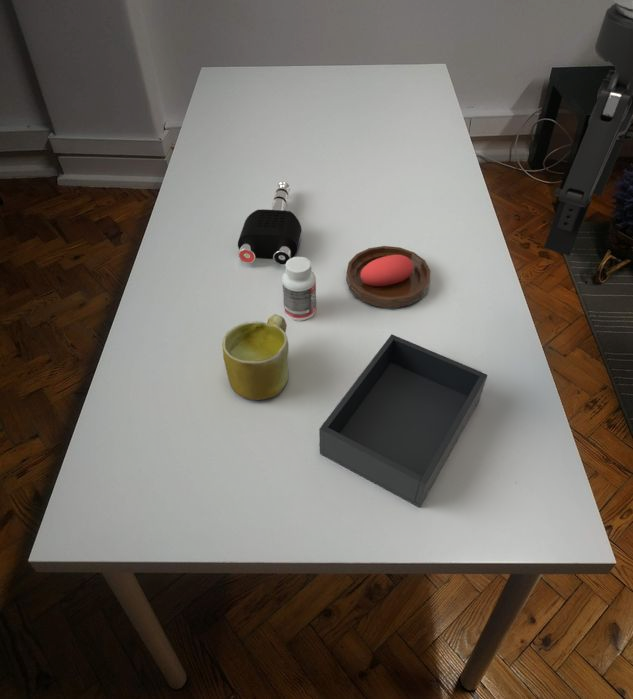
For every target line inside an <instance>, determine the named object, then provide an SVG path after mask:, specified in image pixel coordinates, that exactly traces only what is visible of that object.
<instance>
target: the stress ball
mask: <svg viewBox="0 0 633 699" xmlns="http://www.w3.org/2000/svg"><path fill="white" fill-rule="evenodd" d="M412 272H413V263H412V261H411V260H410V259H409V258H408V257H406V256H403V255H390V256H385V257H381V258H378V259H376V260H373V261H371V262H370V263H368V264H367V265H366V266H365V267H364V268H363V269H362V271H361V280H362V281H363V282H364V283H365V284H367V285H370V286H386V285H391V284H395V283H398V282H401V281H403V280H405V279H407V278H408V277H409V276H410V275H411V274H412Z"/></svg>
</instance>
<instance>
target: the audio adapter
mask: <svg viewBox="0 0 633 699" xmlns="http://www.w3.org/2000/svg"><path fill="white" fill-rule="evenodd" d="M290 191H291V186H290V184H289V183H288V182H286V181H280V182H279V183H278V184H277V187H276V189H275V192H274V196H273V199H272V203H271V205H270V209H256V210H254V211H253V212H251V213H250V214H249V215H248V216H247V217H246V219H245V220H244V223H243V226H242V229H241V231H240V235H239V238H238V241H237V248H238V250H239V251H238V253H237V254H238V258H239V260H240V261H241V262H242V263H245V264H251V263H253V262H254V261H255V260H256V259H263V260H264V259H267V260H273V261H274V262H275V263H276V264H278V265H280V266H286V262H287V261H288V260H289V259H291V258H293V257H296V255H297V253H298V249H299V245H300V240H301V236H302V230H303V229H302V225H301V222H300V221H299V219H298V217H297V216H296V215H295V214H294V213H293V211H291V210H286V207H287V204H288V200H289V195H290Z"/></svg>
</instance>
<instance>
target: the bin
mask: <svg viewBox="0 0 633 699" xmlns="http://www.w3.org/2000/svg"><path fill="white" fill-rule="evenodd" d="M487 379H488V374H487V373H485V372H483V371H481V370H478V369H475V368H473V367H471V366H468V365H466V364H464V363H461V362H459V361H456V360H454V359H451V358H449V357H447V356H445V355H442V354H440V353H437V352H435V351H433V350H430V349H428V348H426V347H423V346H421V345H420V344H416V343H413V342H412V341H409V340H407V339H404V338H402V337H400V336H397V335H395V334H393V333H391V334H390V335H389V337H388V338H387V339H386V340H385V343H383V345H382V346H381V347H380V349H379V350H378V351H377V353H375V355H374V357H373V358H372V359H371V360H370V362H369V363H368V364H367V365H366V367H365V368H364V369H363V371H362V372H361V373H360V374H359V376H358V377H357V378H356V380H355V381H354V383H353V384H352V385H351V387H350V388H349V389H348V391H347V392H346V393H345V394H344V396H343V397H342V399H341V400H340V401H339V402H338V403H337V405H336V406H335V408H334V409H333V410H332V412H331V413H330V414H329V415H328V417H327V418H326V420H325V421H324V422H323V423H322V425H320V427H319V429H318V430H319V432H318V434H319V435H318V437H319V454H320V455H321V456H323V457H325V458H327V459H328V460H330V461H332V462H334V463H336V464H338V465H340V466H342V467H344V468H345V469H347V470H349V471H351V472H353V473H354V474H356V475H358V476H360V477H362V478H364V479H365V480H367V481H369V482H371V483H373V484H374V485H376V486H379V487H380V488H381V489H384V490H386V491H387V492H389V493H392V494H393V495H395V496H397V497H398V498H400V499H402V500H404V501H406V502H408V503H410V504H411V505H414V506H415V507H418V509H419V508H421V507H422V505H423V504H424V501H425V500H426V499H427V496H428V494H429V492H430V491H431V489H432V487H433V486H434V484H435V482H436V479H437V478H438V476H439V475H440V473H441V471H442V469H443V467H444V465H445V463H446V462H447V460H448V458H449V456H450V454H451V452H452V451H453V449H454V448H455V445H456V444H457V442H458V440H459V439H460V436H461V435H462V433H463V431H464V429H465V427H466V426H467V424H468V422H469V420H470V418H471V417H472V415H473V413H474V411H475V409H476V408H477V406H478V404H479V402H480V401H481V396H482V394H483V390H484V387H485V384H486V382H487Z"/></svg>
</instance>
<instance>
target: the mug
mask: <svg viewBox="0 0 633 699" xmlns="http://www.w3.org/2000/svg"><path fill="white" fill-rule="evenodd" d="M287 326H288V324H287V321H286V319H285V318H284V317H283V316H282V315H278V314H276V313H274V314H272V315H271V316H270V317H269V318H268V319H267V322H263V321H246V322H243V323H239V324H238V325H235V326H234V327H232V328H231V329H229V330H228V331H227V332H226V333H225V334H224V335H223V338H222V344H221V345H222V358H223V361H224V366H225V370H226V374H227V379H228V382H229V385H230V387H231V389H232V390H233V391H234V393H235V394H237V395H238V396H239V397H241V398H244V399H246V400H255V401H261V400H266V399H271V398H274V397H276V396H277V395H279V394H280V393H281V391H283V389H284V388H285V386H286V384H287V382H288V378H289V371H288V370H289V369H288V359H289V340H288V336H287V332H286V331H287Z"/></svg>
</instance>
